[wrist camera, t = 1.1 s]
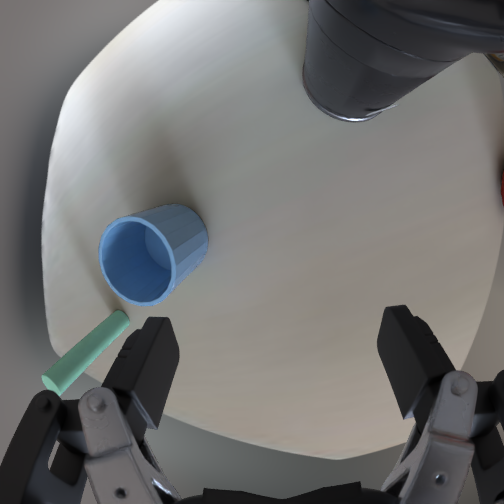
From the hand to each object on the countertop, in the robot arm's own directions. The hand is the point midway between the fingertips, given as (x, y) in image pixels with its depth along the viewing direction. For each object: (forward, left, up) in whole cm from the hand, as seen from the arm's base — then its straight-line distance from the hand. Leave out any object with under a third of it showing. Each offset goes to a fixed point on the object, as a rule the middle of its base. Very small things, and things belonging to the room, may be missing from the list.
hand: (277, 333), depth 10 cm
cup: (+3, -12, -20) cm, 23 cm away
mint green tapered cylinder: (+16, -20, -20) cm, 33 cm away
